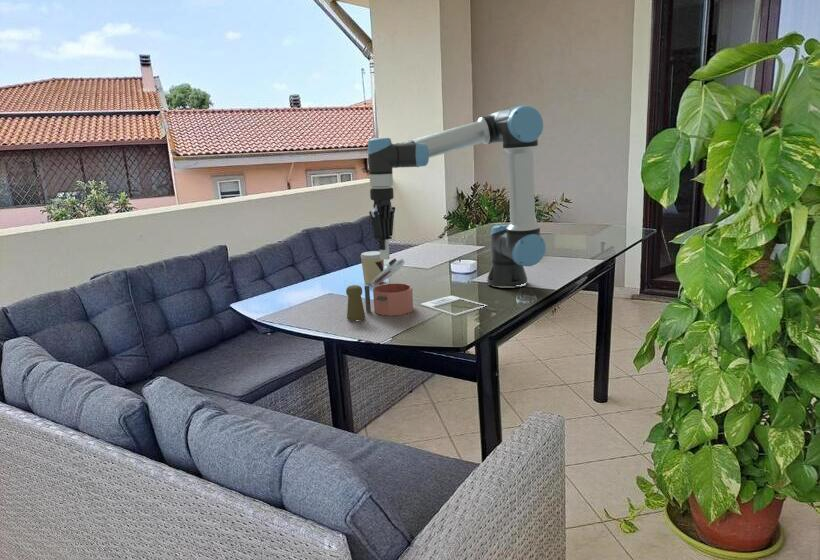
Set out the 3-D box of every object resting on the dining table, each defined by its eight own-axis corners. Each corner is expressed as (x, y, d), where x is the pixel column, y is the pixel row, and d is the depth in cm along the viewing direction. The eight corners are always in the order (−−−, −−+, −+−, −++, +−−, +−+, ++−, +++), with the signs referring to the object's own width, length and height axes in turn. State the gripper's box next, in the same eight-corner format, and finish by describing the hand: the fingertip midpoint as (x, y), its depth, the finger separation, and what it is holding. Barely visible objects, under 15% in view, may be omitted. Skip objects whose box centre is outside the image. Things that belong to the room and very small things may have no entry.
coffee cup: (382, 285, 227) (380, 255, 224) (359, 285, 229) (357, 255, 226) (387, 279, 236) (386, 250, 233) (366, 279, 238) (364, 250, 235)
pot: (421, 305, 197) (420, 279, 195) (399, 318, 184) (397, 291, 181) (385, 301, 204) (384, 276, 202) (361, 314, 190) (359, 288, 188)
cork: (347, 316, 189) (344, 284, 186) (365, 315, 189) (363, 283, 187) (346, 322, 183) (344, 288, 180) (365, 320, 183) (363, 287, 181)
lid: (411, 258, 193) (406, 252, 194) (391, 266, 182) (386, 260, 182) (386, 280, 200) (381, 275, 201) (365, 290, 189) (360, 284, 189)
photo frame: (451, 294, 206) (487, 304, 192) (451, 297, 206) (487, 307, 192) (419, 303, 197) (455, 314, 183) (420, 306, 198) (455, 317, 184)
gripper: (381, 185, 192) (385, 254, 197) (360, 189, 181) (364, 262, 186) (401, 185, 188) (404, 255, 194) (381, 189, 177) (384, 263, 183)
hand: (384, 258), depth 190 cm, fingers closed
